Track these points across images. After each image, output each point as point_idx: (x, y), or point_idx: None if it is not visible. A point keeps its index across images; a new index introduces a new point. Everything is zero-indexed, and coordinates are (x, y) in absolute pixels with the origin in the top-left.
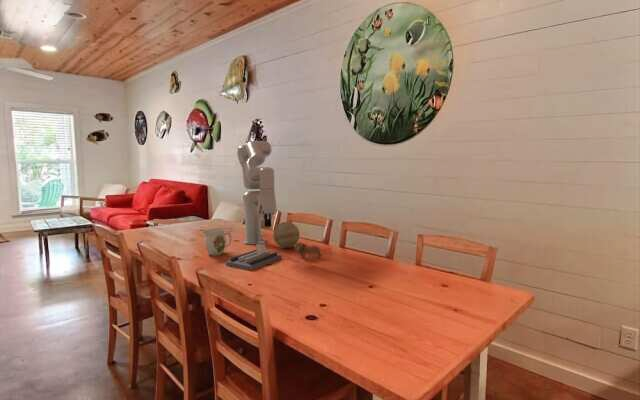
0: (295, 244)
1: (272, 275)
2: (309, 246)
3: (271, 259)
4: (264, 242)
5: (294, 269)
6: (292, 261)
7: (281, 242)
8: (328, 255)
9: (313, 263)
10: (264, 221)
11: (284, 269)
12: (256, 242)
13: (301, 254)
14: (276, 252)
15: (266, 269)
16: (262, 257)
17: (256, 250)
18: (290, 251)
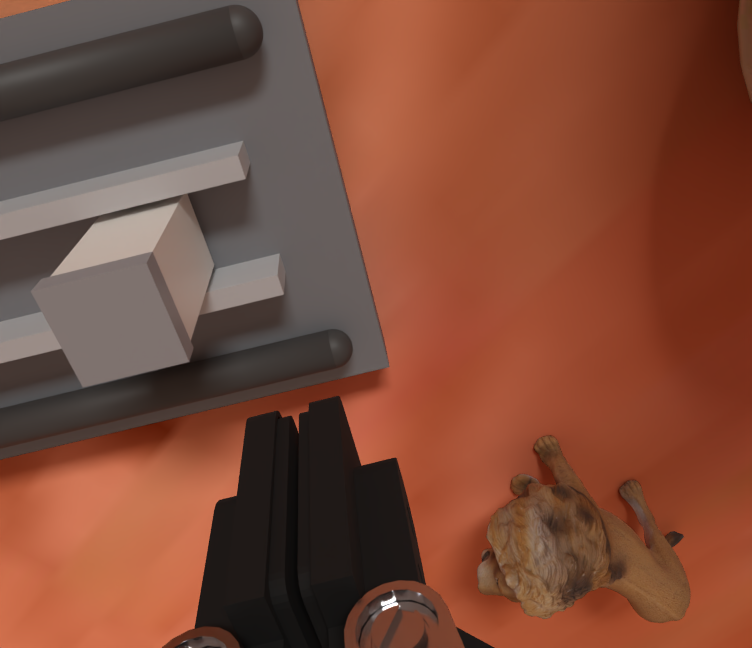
0: (506, 571)
1: (9, 635)
2: (627, 590)
3: (199, 406)
4: (173, 361)
5: None
6: None
7: (742, 63)
8: (745, 533)
9: (466, 606)
10: (233, 525)
11: (176, 590)
12: (33, 296)
13: (552, 470)
14: (330, 368)
15: (39, 514)
16: (57, 432)
17: (179, 70)
18: (689, 183)
